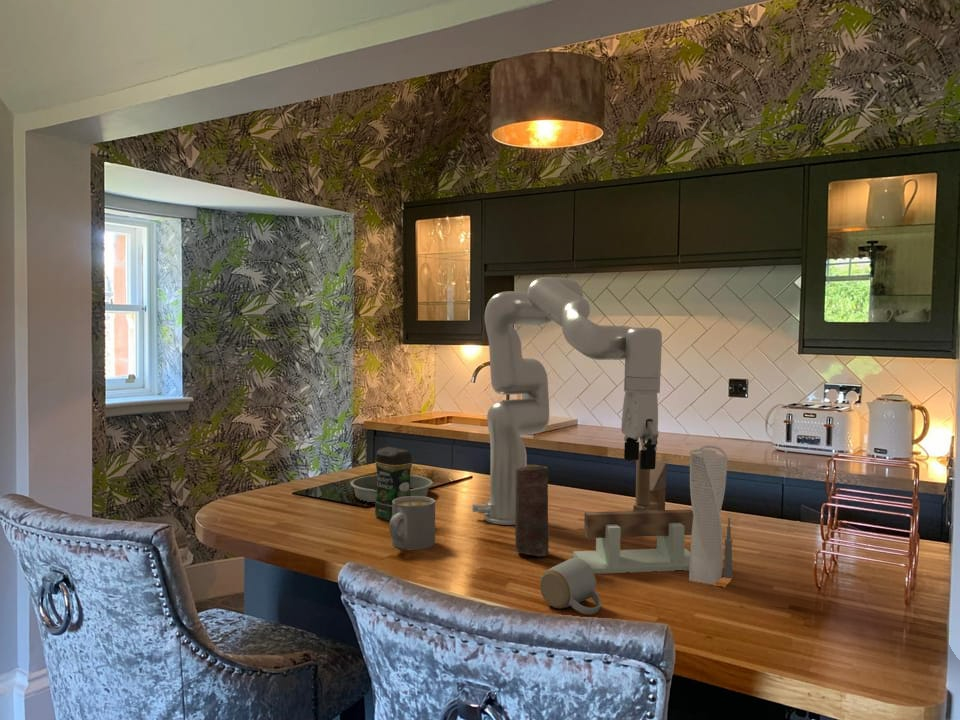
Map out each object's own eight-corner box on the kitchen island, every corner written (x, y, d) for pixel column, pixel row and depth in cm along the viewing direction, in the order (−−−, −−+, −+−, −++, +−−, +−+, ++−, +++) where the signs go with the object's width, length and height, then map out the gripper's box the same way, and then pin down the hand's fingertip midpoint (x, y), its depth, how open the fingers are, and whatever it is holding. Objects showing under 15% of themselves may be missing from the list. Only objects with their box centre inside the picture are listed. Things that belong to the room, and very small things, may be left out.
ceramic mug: (536, 604, 131) (537, 562, 131) (563, 592, 137) (564, 553, 136) (583, 621, 124) (584, 578, 123) (610, 609, 129) (611, 567, 129)
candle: (525, 561, 155) (526, 469, 154) (508, 552, 162) (509, 463, 161) (554, 556, 159) (556, 466, 158) (537, 547, 165) (538, 461, 164)
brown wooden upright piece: (665, 514, 198) (666, 448, 197) (644, 520, 190) (645, 453, 189) (653, 511, 200) (655, 447, 200) (632, 518, 193) (633, 451, 192)
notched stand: (588, 573, 148) (589, 530, 147) (572, 555, 159) (573, 515, 159) (708, 569, 151) (709, 527, 151) (684, 552, 163) (685, 512, 163)
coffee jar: (369, 517, 191) (370, 447, 190) (392, 511, 197) (392, 444, 196) (394, 523, 185) (394, 451, 184) (416, 518, 190) (417, 448, 190)
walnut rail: (587, 538, 152) (587, 514, 152) (584, 535, 155) (584, 512, 154) (694, 535, 156) (695, 512, 155) (690, 531, 158) (690, 509, 158)
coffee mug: (414, 534, 175) (414, 494, 174) (443, 543, 168) (444, 500, 168) (371, 546, 165) (372, 503, 164) (401, 556, 158) (401, 511, 158)
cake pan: (429, 506, 204) (429, 491, 204) (342, 505, 204) (342, 489, 204) (435, 488, 229) (435, 474, 228) (358, 487, 229) (358, 472, 229)
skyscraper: (723, 591, 139) (726, 448, 138) (681, 583, 143) (684, 444, 142) (733, 579, 146) (736, 442, 145) (693, 572, 150) (696, 439, 149)
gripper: (612, 381, 162) (609, 456, 163) (639, 389, 145) (636, 473, 146) (644, 381, 163) (641, 456, 164) (675, 389, 146) (671, 472, 147)
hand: (639, 464), depth 155 cm, fingers open, 9 cm apart
